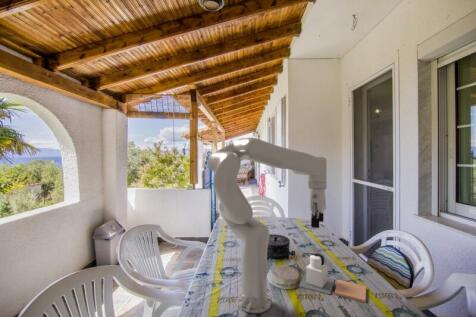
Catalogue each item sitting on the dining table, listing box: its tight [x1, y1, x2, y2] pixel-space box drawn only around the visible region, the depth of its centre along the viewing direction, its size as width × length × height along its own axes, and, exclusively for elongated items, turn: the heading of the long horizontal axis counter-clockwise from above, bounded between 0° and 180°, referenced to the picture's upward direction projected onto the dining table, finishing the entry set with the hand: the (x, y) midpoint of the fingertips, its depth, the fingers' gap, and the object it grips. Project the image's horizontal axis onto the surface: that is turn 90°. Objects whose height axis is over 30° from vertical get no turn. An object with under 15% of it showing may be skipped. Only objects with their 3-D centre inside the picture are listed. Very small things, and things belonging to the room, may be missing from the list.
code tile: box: [298, 272, 335, 296], centre depth 106 cm, size 13×13×1 cm
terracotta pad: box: [334, 279, 367, 303], centre depth 100 cm, size 11×11×1 cm
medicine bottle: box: [305, 252, 329, 288], centre depth 106 cm, size 7×7×12 cm
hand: (317, 224), depth 106 cm, fingers open, 9 cm apart
